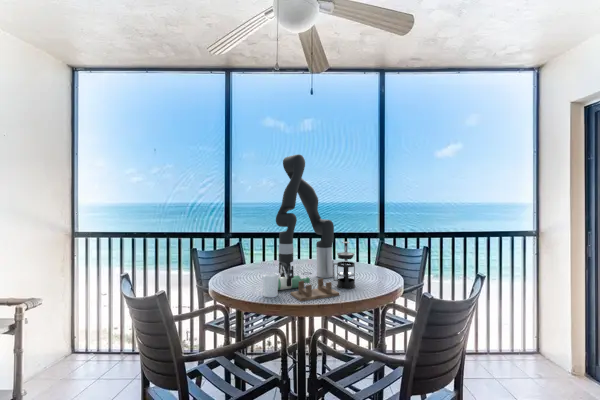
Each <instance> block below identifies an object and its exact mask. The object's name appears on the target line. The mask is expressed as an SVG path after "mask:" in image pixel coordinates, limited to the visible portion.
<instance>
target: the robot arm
mask: <svg viewBox="0 0 600 400" xmlns="http://www.w3.org/2000/svg"><path fill="white" fill-rule="evenodd" d="M282 166H283V170H284V171H285V174H286V175H287V177H288V178H289V181H288V183H287V185H286V187H285V189H284V192H283V194H282V195H283V196H282V200H281V204H280V207H279V209H278V212H277V214H276V216H275V224H276V225H277V226H278V227H281V228H283V227H284V228H286V230H285V231H284V230H283V231H281V232H279V234H278V237H279V238H278V274H279V275H280V277H287V286H291V279H292V278H294V276H295V275H294V265H291V264H292V263H293V262H294V232H295V229H296V226H297V222H298V221H297V216H296V214H294V213H293V212H289V211H291V210H294V209H295V208H296V204H297V198H298V197H299V198H300V199H299V200H300V201H301V204H302V205H303V207H304V209H305V212H306V214H307V215H308V218H309V221H310V224H311V226H312V229H313V231H314V233H315V234H316V235H319V236H321V240H318V241H316V245H315V247H316V248H315V249H316V252H315V253H316V254H315V255H316V257H315V258H316V277H317V278H319V279H321V278H323V279H327V278H328V279H329V278H332V277H333V278H334V277H335V268H334V269H333V264H334V263H335V262H334V261H335V260H334V259H333V243H334V239H335V238H334V236H335V235H334V233H335V227H334V226H335V225H334V223H333V221H332V220H331V219H323V218H322V217H321V215H320V214H319V197H318V195H317V193H316V191H315V188H314V187H313V186H312V185H311V184H310V183H309V182H307V181H306V180H305V179H303V175H304V172H305V167H306V159H305V157H304V156H303V154H300V153H299V154H292V155H289V156H286V157H284V158H283V160H282ZM297 196H298V197H297Z"/></svg>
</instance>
